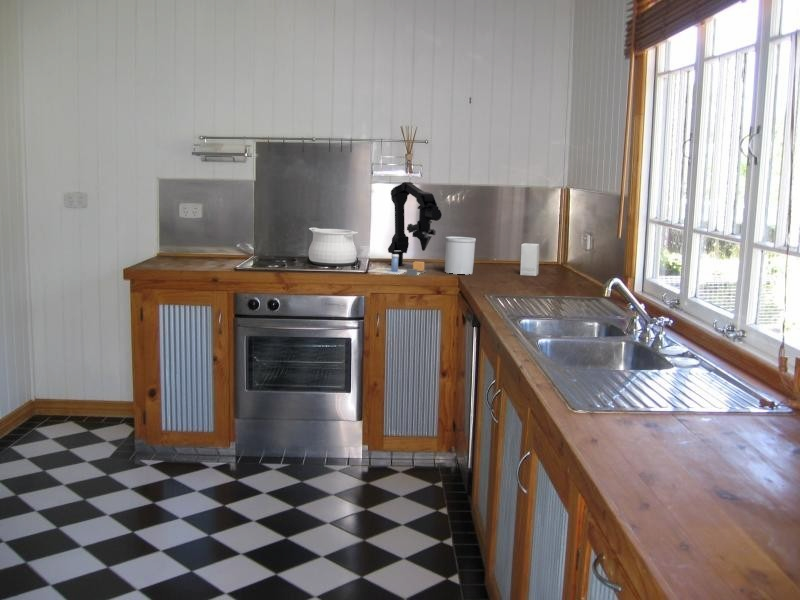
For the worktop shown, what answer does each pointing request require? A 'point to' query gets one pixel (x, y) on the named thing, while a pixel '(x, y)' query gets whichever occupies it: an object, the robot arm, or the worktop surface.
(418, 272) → the switch base
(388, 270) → the sheet
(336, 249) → the pot
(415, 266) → the orange cube
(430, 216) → the robot arm
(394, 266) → the marker
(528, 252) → the skincare box
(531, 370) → the worktop surface
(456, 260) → the utensil holder
